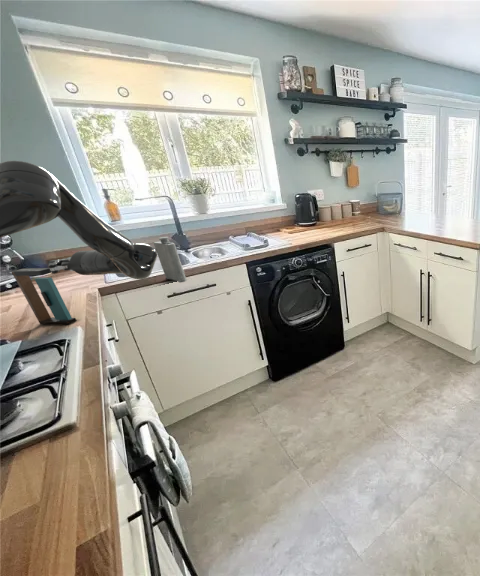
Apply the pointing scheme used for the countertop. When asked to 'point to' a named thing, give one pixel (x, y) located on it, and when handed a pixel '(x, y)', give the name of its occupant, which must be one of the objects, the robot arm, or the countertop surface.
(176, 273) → the hip flask
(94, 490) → the countertop surface
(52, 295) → the door
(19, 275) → the door frame
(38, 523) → the countertop surface
